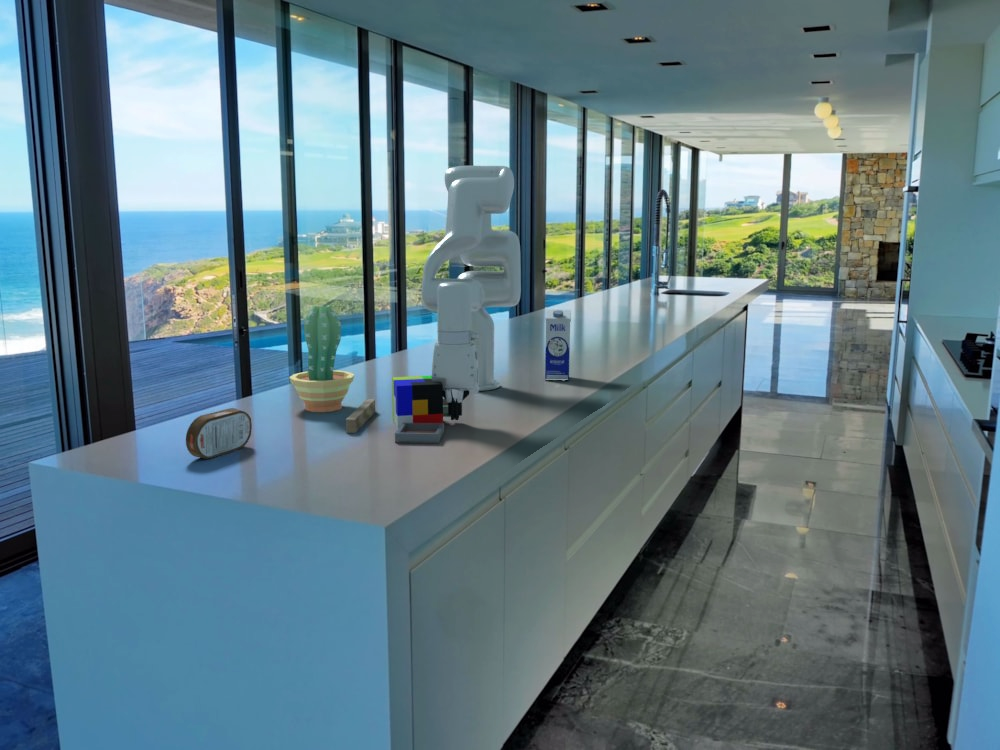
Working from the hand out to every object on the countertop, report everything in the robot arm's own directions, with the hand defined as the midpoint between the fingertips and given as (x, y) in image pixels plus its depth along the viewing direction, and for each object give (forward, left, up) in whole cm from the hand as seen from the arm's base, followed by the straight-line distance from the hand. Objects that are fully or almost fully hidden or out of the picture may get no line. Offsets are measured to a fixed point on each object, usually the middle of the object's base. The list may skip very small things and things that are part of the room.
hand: (455, 418), depth 184 cm
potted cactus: (-13, -34, -1) cm, 36 cm away
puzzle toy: (+1, -8, -1) cm, 9 cm away
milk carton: (-54, +23, -1) cm, 59 cm away
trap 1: (+12, -6, -1) cm, 14 cm away
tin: (+27, -43, -2) cm, 51 cm away
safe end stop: (0, -21, -1) cm, 21 cm away
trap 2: (-13, -6, -1) cm, 14 cm away
